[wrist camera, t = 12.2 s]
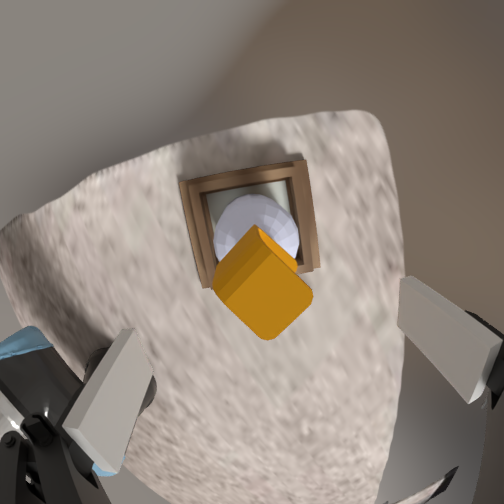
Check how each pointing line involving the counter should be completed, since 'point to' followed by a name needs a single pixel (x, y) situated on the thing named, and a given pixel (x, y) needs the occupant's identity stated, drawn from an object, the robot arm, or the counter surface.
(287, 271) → the orange capped white bottle
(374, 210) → the counter surface
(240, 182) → the picture frame
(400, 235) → the counter surface
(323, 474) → the counter surface
